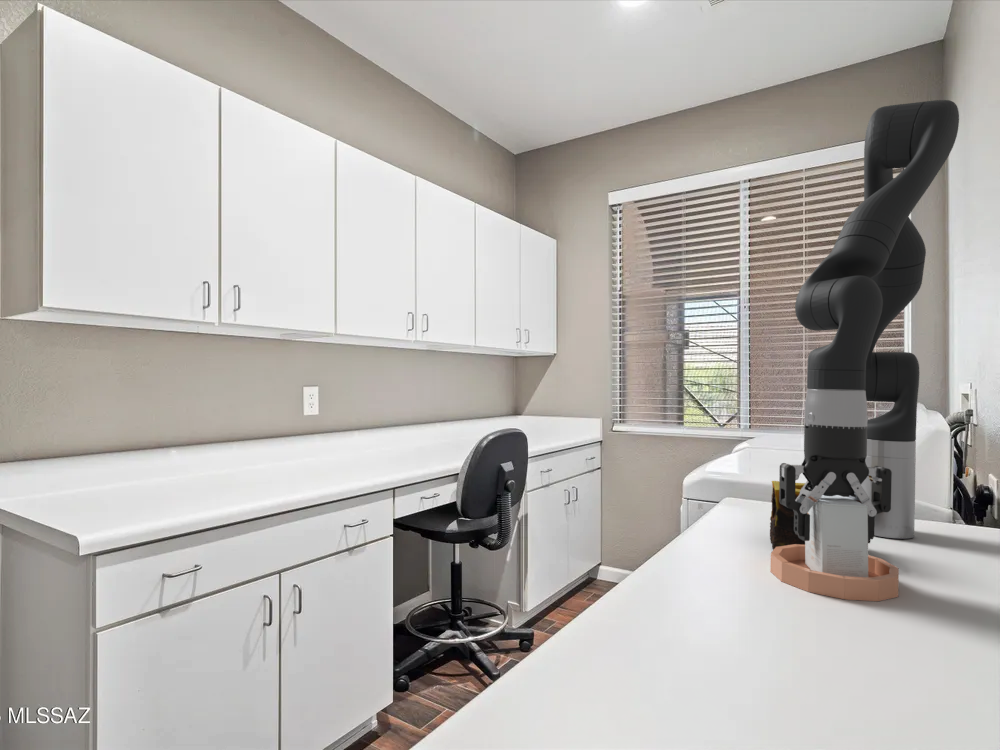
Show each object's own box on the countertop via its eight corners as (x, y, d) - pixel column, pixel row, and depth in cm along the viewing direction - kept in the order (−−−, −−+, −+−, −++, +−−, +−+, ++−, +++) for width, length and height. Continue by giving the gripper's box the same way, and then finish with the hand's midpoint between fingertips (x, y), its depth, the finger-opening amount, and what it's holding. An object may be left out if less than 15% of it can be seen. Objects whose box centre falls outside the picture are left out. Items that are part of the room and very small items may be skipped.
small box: (869, 587, 74) (869, 506, 74) (821, 583, 75) (822, 503, 75) (846, 567, 82) (846, 494, 82) (804, 564, 83) (804, 492, 83)
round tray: (756, 559, 87) (757, 542, 87) (860, 564, 85) (860, 547, 85) (798, 596, 72) (799, 576, 72) (925, 603, 70) (925, 582, 70)
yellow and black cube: (772, 551, 91) (773, 489, 91) (768, 535, 101) (769, 479, 101) (845, 560, 87) (846, 495, 88) (834, 543, 97) (835, 484, 97)
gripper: (874, 421, 82) (872, 535, 82) (771, 419, 83) (769, 531, 83) (906, 426, 74) (904, 551, 74) (792, 422, 76) (790, 546, 75)
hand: (833, 540), depth 79 cm, fingers open, 7 cm apart
